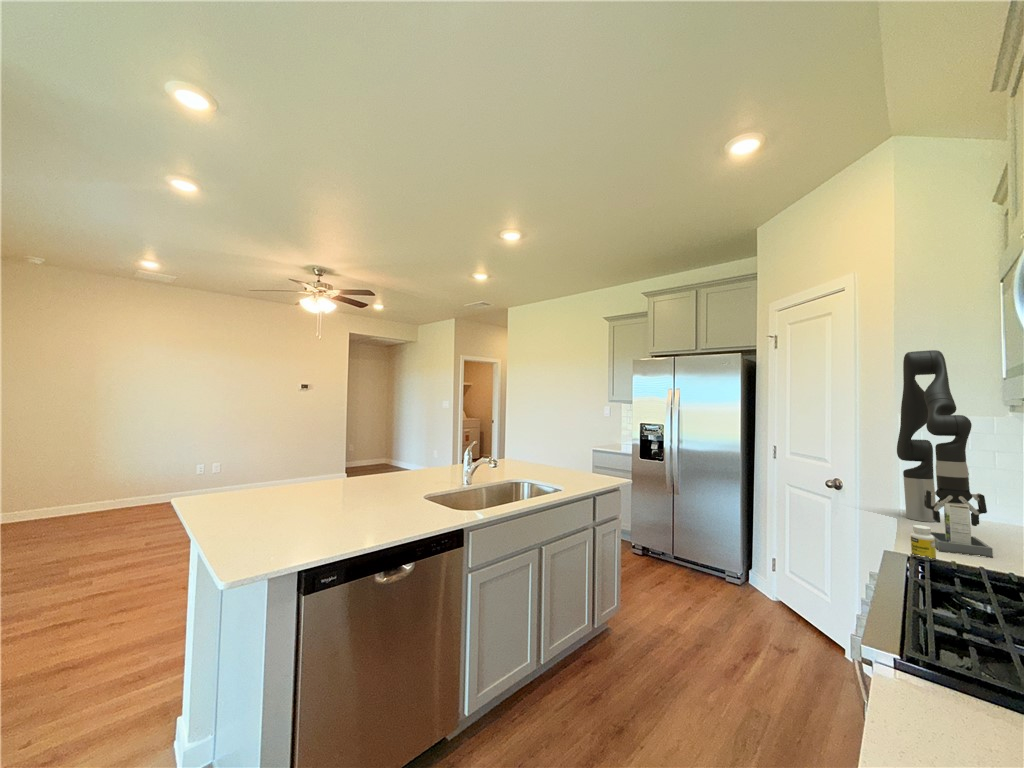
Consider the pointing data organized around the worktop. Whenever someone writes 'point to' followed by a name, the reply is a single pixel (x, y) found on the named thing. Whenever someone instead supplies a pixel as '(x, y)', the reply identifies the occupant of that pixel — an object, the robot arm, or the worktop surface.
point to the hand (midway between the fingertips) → (955, 523)
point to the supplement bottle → (923, 542)
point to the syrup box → (957, 523)
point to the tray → (962, 546)
